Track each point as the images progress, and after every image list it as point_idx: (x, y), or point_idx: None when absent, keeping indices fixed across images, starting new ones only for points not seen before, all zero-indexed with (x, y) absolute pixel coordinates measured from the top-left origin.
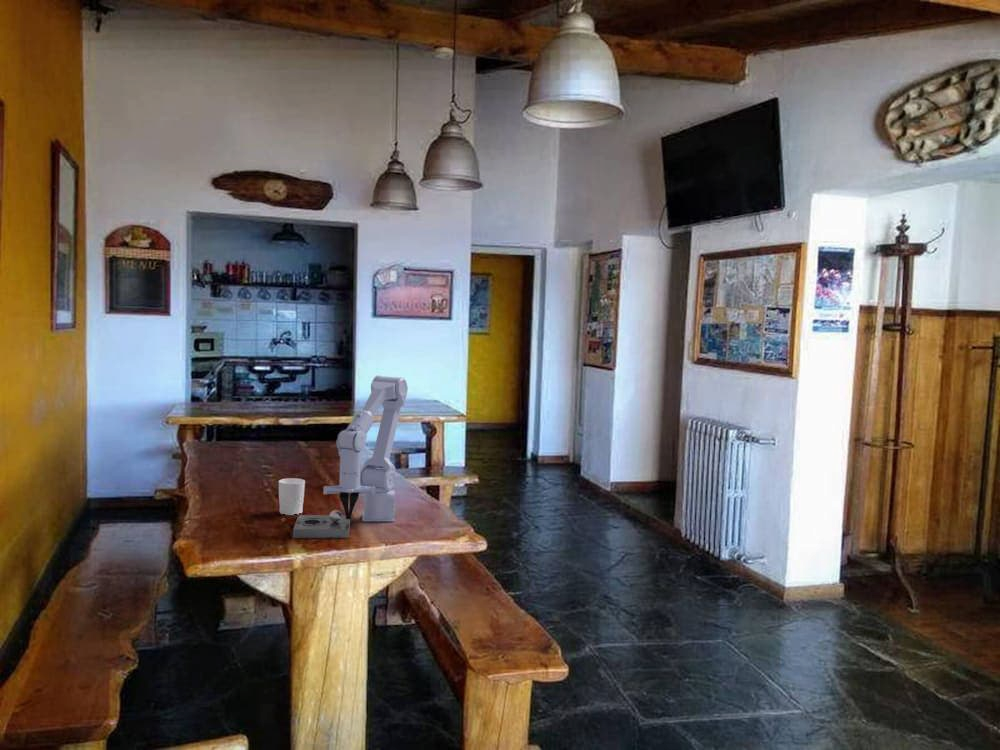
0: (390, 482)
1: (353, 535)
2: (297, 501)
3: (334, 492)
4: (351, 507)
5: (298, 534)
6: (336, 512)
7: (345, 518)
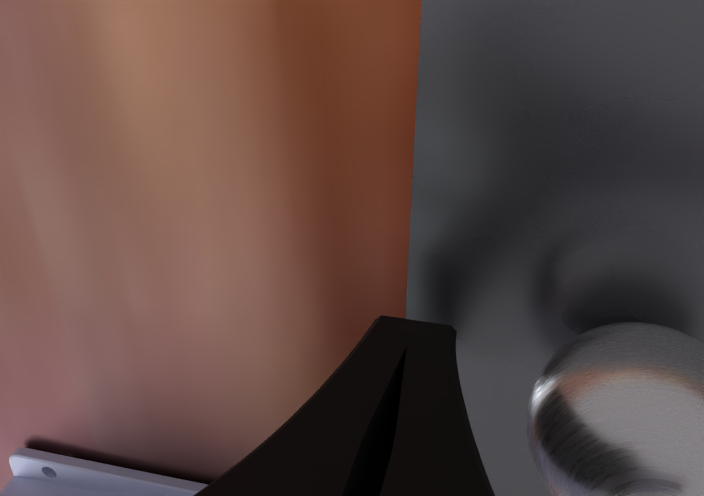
0: None
1: (366, 29)
2: None
3: None
4: (308, 447)
5: None
6: (644, 448)
7: None
